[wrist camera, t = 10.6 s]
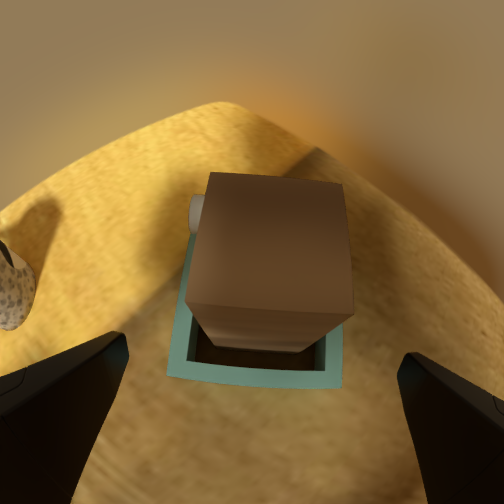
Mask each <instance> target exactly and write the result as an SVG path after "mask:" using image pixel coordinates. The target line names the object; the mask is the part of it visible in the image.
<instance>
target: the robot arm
mask: <svg viewBox="0 0 504 504" xmlns="http://www.w3.org/2000/svg"><path fill="white" fill-rule="evenodd" d="M128 360H129V351H128V346H127V341H126V336H125V334H124V333H122V332H117V331H110V332H108V333H106V334H104V335H101V336H99V337H97V338H94V339H92V340H90V341H87V342H85V343H82V344H80V345H78V346H75V347H73V348H71V349H68V350H66V351H64V352H61V353H59V354H56V355H54V356H52V357H49V358H47V359H44V360H42V361H40V362H37V363H35V364H32V365H30V366H28V367H27V368H26V367H25V368H22V369H20V370H18V371H15V372H12V373H10V374H7V375H4V376H1V377H0V504H70V503H71V500H72V497H73V494H74V492H75V489H76V487H77V484H78V481H79V479H80V476H81V474H82V472H83V469H84V467H85V464H86V462H87V459H88V457H89V455H90V452H91V450H92V448H93V445H94V443H95V441H96V439H97V436H98V434H99V432H100V430H101V427H102V425H103V423H104V421H105V419H106V416H107V414H108V412H109V410H110V408H111V406H112V404H113V401H114V399H115V397H116V394H117V391H118V389H119V386H120V383H121V380H122V377H123V374H124V371H125V368H126V366H127V363H128ZM397 380H398V385H399V389H400V394H401V399H402V403H403V409H404V413H405V417H406V420H407V424H408V427H409V430H410V434H411V437H412V440H413V444H414V448H415V451H416V455H417V459H418V463H419V467H420V471H421V475H422V479H423V483H424V488H425V493H426V497H427V502H428V504H504V401H503V400H501V399H499V398H497V397H496V396H494V395H493V396H492V394H490V393H488V392H487V391H485V390H483V389H481V388H480V387H478V386H476V385H474V384H473V383H471V382H469V381H467V380H466V379H464V378H462V377H460V376H458V375H457V374H455V373H453V372H451V371H450V370H448V369H446V368H444V367H443V366H441V365H439V364H437V363H436V362H434V361H432V360H430V359H429V358H427V357H425V356H423V355H422V354H420V353H418V352H410V353H407V354H406V355H405V356H404V358H403V361H402V363H401V365H400V367H399V370H398V372H397Z"/></svg>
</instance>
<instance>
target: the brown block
mask: <svg viewBox="0 0 504 504" xmlns="http://www.w3.org/2000/svg"><path fill="white" fill-rule="evenodd" d="M184 302H185V303H186V305H187V306H188V308H189V309H190V311H191V312H192V314H193V315H194V317H195V318H196V320H197V321H198V323H199V324H200V326H201V327H202V329H203V330H204V331H205V333H206V334H207V336H208V337H209V339H210V340H211V341H212V343H213V344H214V346H215V347H216V349H226V350H236V351H247V352H260V353H275V354H298V353H299V352H301V351H302V350H304V349H305V348H307V347H308V346H310V345H311V344H313V343H314V342H316V341H317V340H319V339H320V338H322V337H323V336H325V335H326V334H327V333H329V332H330V331H332V330H333V329H334V328H336V327H337V326H339V325H340V324H341V323H343V322H344V321H346V320H347V319H348V318H350V317H351V316H352V315H354V295H353V278H352V265H351V253H350V243H349V233H348V224H347V216H346V208H345V201H344V194H343V187H342V184H337V183H330V182H322V181H314V180H305V179H296V178H287V177H276V176H265V175H252V174H238V173H221V172H210V176H209V180H208V185H207V189H206V193H205V198H204V202H203V207H202V212H201V216H200V221H199V226H198V231H197V235H196V240H195V245H194V251H193V256H192V261H191V266H190V272H189V277H188V283H187V289H186V295H185V301H184Z"/></svg>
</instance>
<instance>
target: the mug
mask: <svg viewBox="0 0 504 504" xmlns="http://www.w3.org/2000/svg"><path fill="white" fill-rule="evenodd" d="M35 290H36V280H35V275H34V272H33V270H32V268H31V267H30V265H29V264H28V263H27V262H25V261H24V260H23V259H22V258H20V257H19V256H18V255H17V254H16V253H14V252H13V251H12V250H11V249H10V248H9V247H7V246H6V245H5V244H4V243H3V242H2V241H1V240H0V328H1V329H4V330H6V331H10V330H14V329H16V328H18V327H19V326H20V325H21V324H22V323H23V322H24V321H25V320H26V318H27V316H28V314H29V313H30V310H31V308H32V305H33V301H34V297H35Z"/></svg>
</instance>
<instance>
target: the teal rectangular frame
mask: <svg viewBox="0 0 504 504" xmlns="http://www.w3.org/2000/svg"><path fill="white" fill-rule="evenodd" d="M204 198H205V195H193V197H192V199H191V202H190V207H189V230H190V233H191V234H190V238H189V243H188V248H187V253H186V258H185V263H184V268H183V273H182V278H181V284H180V289H179V295H178V301H177V306H176V312H175V318H174V325H173V331H172V338H171V345H170V352H169V359H168V367H167V375H166V376H172V377H178V378H184V379H190V380H197V381H204V382H212V383H221V384H230V385H240V386H253V387H268V388H294V389H332V388H342V359H343V323H341V324H340V325H339V326H337V327H336V328H334V329H333V330H332V331H330V332H329V333H327V334H326V335H325V336H323V337H322V338H320V339H319V340H317V341H316V342H315V368H314V371H293V370H271V369H255V368H243V367H232V366H223V365H214V364H206V363H198V362H195V353H196V345H197V338H198V330H199V323H198V321H197V320H196V318H195V317H194V315H193V314H192V312H191V311H190V309H189V308H188V306H187V305H186V303H185V302H184V301H185V295H186V289H187V283H188V277H189V272H190V266H191V261H192V256H193V251H194V245H195V240H196V235H197V231H198V226H199V221H200V216H201V212H202V207H203V202H204Z"/></svg>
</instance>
